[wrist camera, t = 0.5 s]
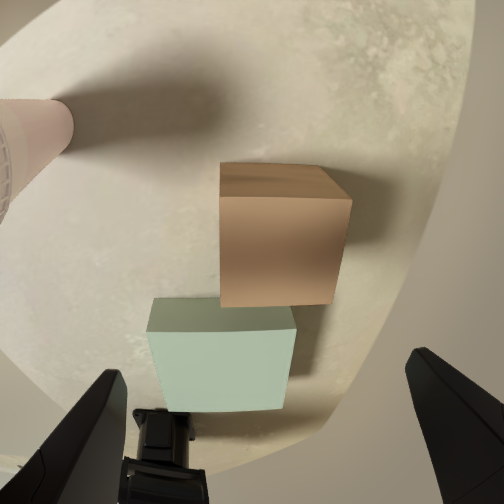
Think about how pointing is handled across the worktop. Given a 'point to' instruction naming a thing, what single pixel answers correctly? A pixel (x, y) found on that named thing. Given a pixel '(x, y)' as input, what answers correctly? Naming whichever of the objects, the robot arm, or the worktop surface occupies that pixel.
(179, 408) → the sage box
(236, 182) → the walnut cube
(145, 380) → the worktop surface
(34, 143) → the smoothie
